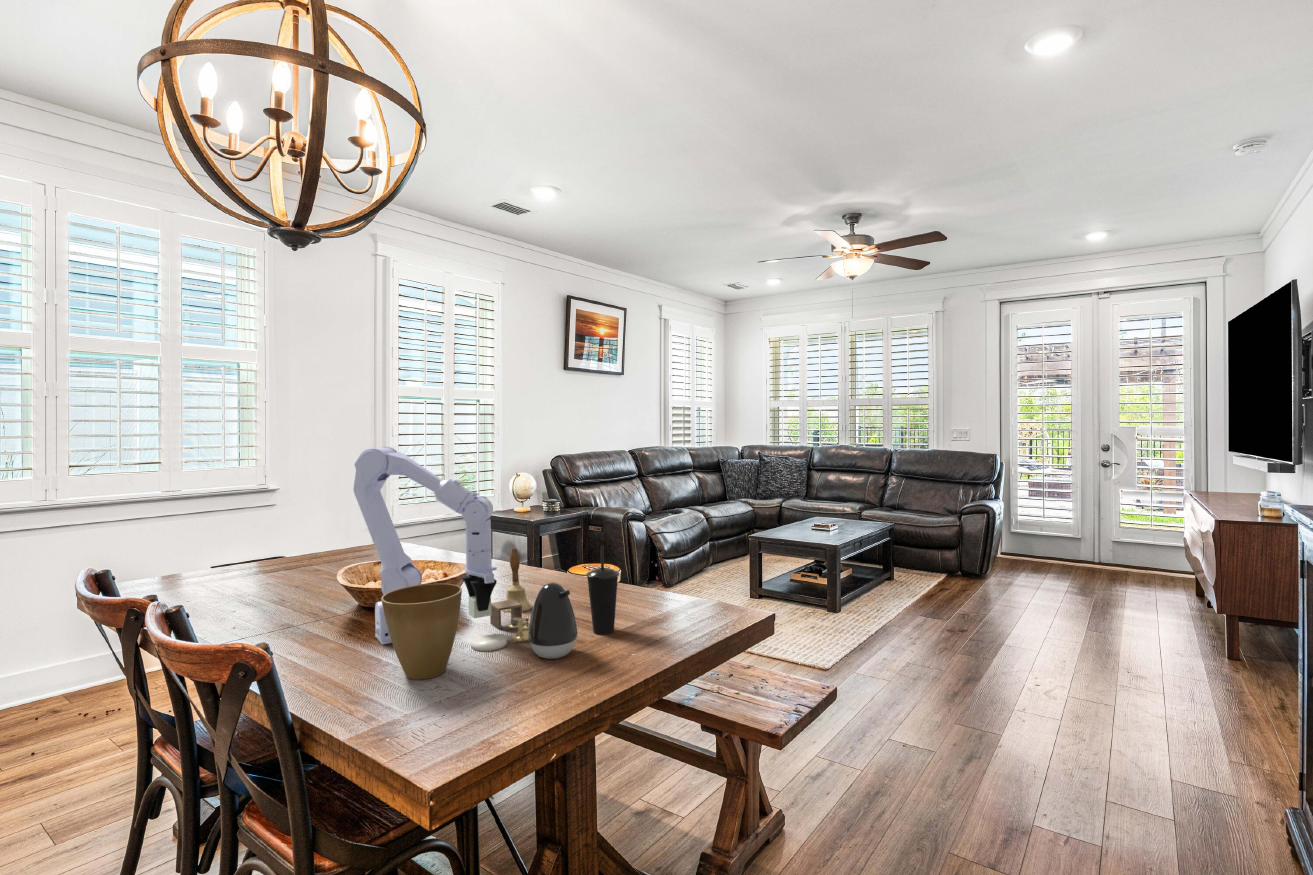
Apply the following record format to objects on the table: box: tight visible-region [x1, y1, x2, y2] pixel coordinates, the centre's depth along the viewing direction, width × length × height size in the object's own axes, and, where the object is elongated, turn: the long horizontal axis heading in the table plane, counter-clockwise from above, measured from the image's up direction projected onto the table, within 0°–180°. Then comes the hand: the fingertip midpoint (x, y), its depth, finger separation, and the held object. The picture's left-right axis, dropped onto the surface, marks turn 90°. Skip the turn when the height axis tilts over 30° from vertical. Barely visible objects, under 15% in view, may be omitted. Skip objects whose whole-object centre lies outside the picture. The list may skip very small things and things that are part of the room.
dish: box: [470, 634, 508, 652], centre depth 144 cm, size 8×8×1 cm
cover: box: [489, 599, 523, 631], centre depth 159 cm, size 6×6×5 cm
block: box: [468, 596, 492, 619], centre depth 152 cm, size 4×4×4 cm
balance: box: [507, 617, 530, 644], centre depth 147 cm, size 4×11×6 cm, turn 34°
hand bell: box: [501, 547, 533, 614], centre depth 173 cm, size 8×8×16 cm
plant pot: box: [380, 583, 463, 681], centre depth 128 cm, size 15×15×16 cm
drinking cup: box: [585, 545, 620, 636], centre depth 152 cm, size 8×8×20 cm
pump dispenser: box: [527, 582, 578, 660], centre depth 137 cm, size 10×10×15 cm
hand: (479, 607), depth 152 cm, fingers closed on block, 4 cm apart
